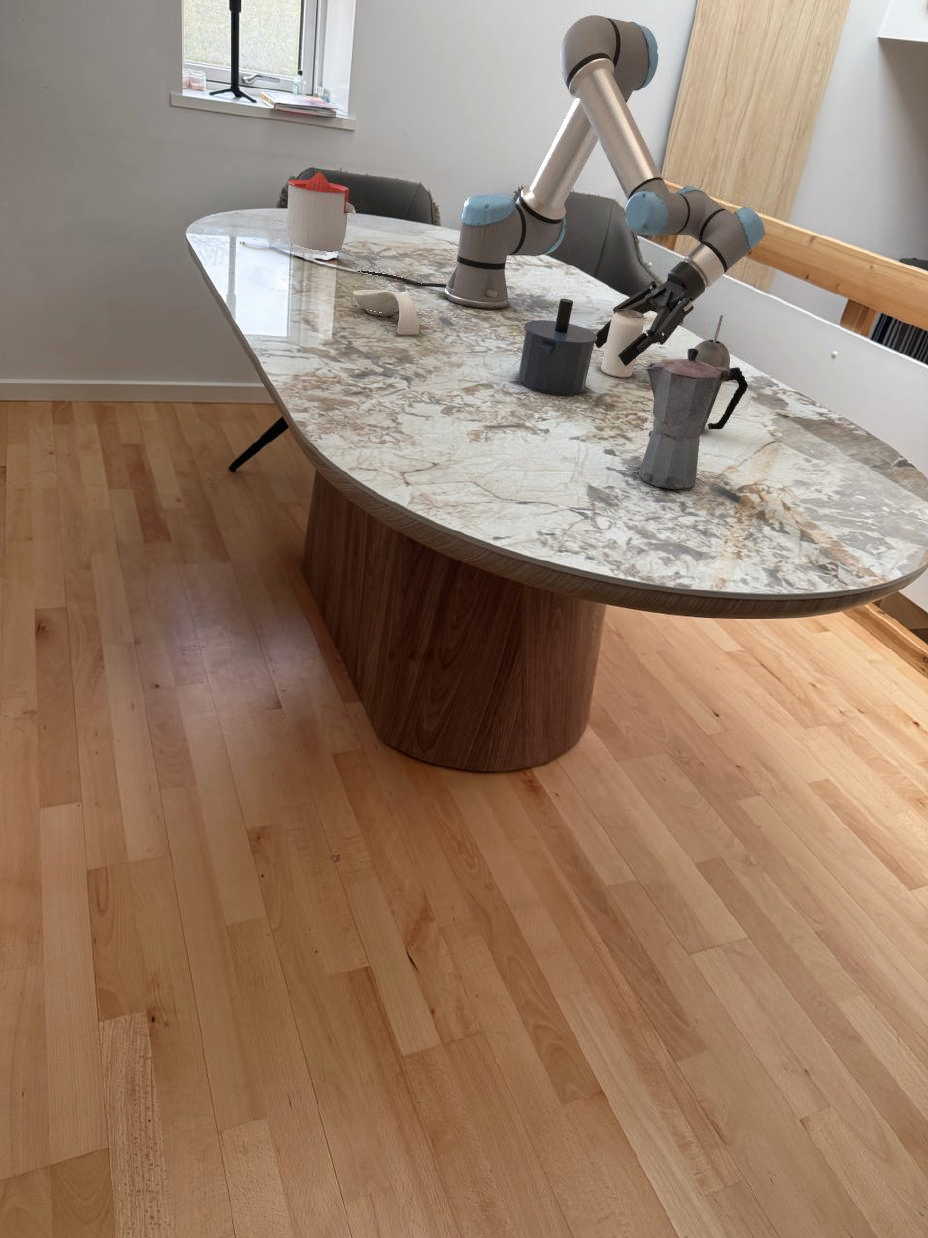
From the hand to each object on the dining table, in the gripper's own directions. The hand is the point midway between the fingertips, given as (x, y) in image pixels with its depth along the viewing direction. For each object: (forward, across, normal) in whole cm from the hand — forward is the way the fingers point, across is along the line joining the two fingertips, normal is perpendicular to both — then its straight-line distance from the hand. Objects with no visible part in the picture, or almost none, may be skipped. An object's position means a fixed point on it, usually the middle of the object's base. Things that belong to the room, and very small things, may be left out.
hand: (608, 351), depth 185 cm
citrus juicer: (+29, +90, +23) cm, 97 cm away
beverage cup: (+2, -30, -4) cm, 30 cm away
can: (+1, 0, -5) cm, 5 cm away
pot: (+14, -7, +8) cm, 18 cm away
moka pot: (+15, -50, +8) cm, 53 cm away
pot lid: (+7, -7, +15) cm, 18 cm away
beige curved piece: (+28, +32, +22) cm, 48 cm away
